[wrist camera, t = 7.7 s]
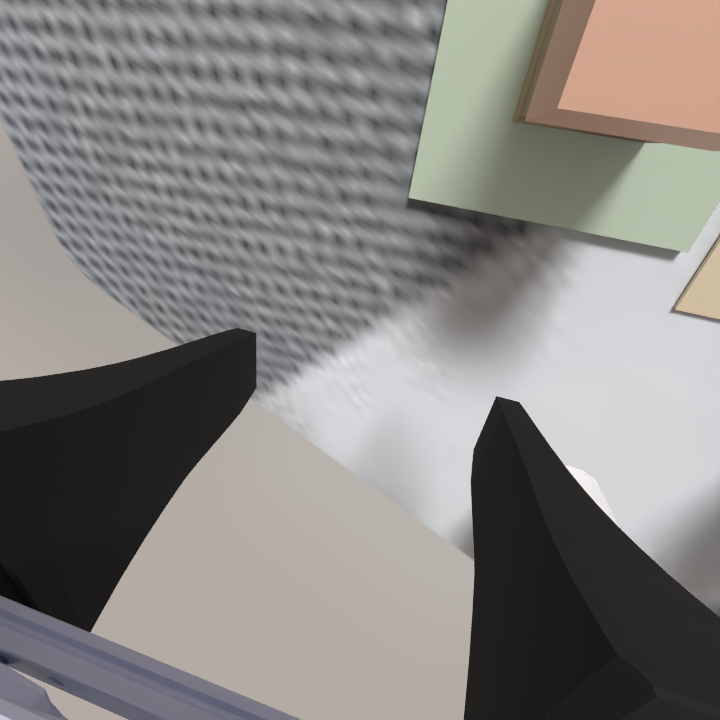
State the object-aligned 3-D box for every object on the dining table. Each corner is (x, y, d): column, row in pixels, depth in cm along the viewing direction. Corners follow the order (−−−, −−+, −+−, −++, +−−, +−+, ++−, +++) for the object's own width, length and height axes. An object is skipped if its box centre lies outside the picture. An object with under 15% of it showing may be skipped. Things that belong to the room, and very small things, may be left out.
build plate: (959, -209, 10) (981, -225, 9) (682, 250, 16) (688, 252, 16) (494, -225, 11) (494, -238, 11) (410, 196, 18) (408, 197, 17)
